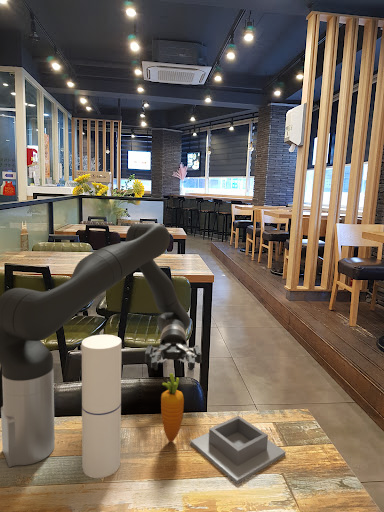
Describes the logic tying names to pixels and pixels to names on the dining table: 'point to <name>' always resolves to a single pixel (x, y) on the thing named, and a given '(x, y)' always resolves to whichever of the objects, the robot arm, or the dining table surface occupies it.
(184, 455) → the dining table surface
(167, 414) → the carrot
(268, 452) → the sleeve stand
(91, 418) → the cylindrical container
